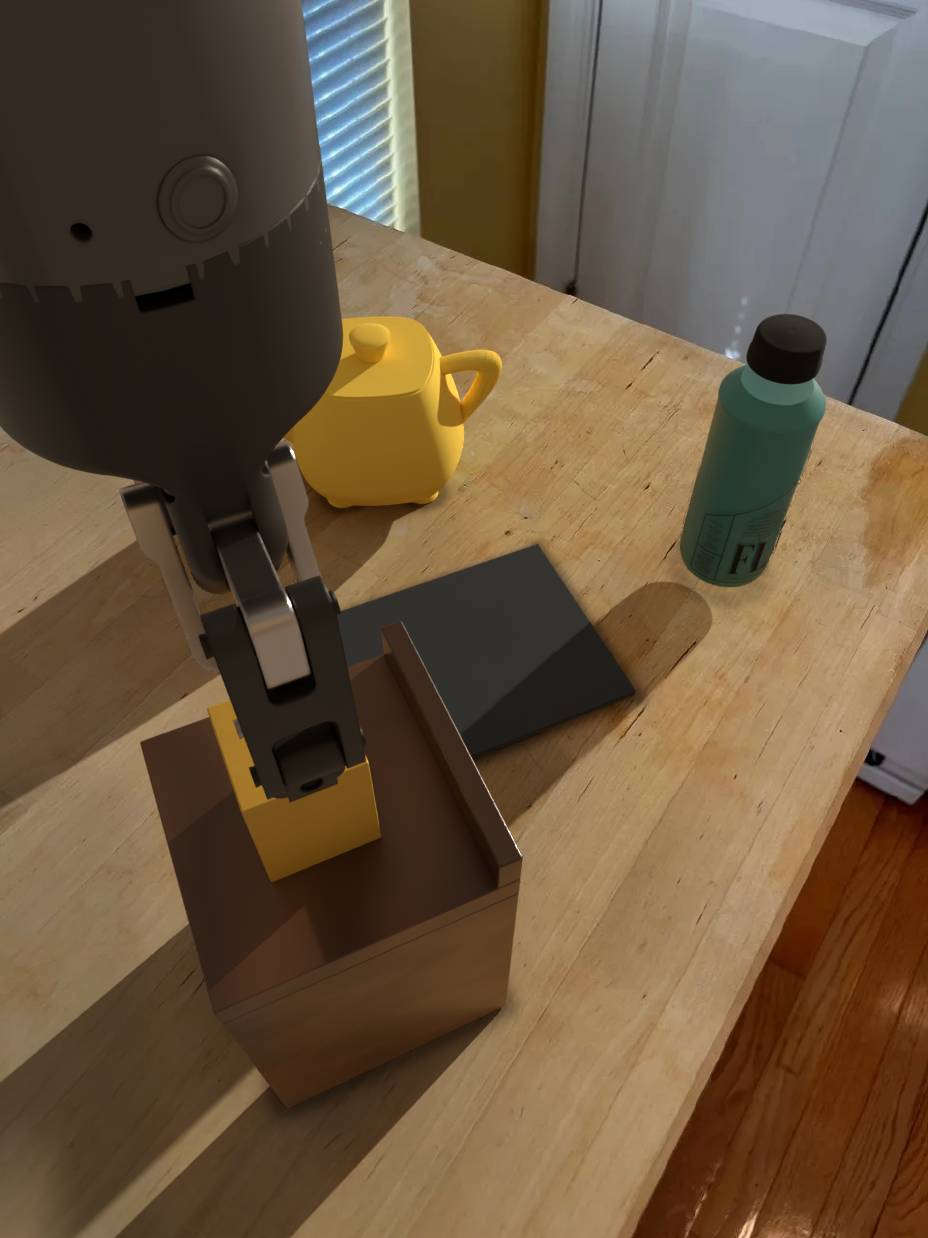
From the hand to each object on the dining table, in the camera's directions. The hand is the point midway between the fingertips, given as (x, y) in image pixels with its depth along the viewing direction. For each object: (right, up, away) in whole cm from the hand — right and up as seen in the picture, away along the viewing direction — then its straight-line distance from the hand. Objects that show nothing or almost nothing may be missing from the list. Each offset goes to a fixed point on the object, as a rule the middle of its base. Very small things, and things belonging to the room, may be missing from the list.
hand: (264, 668), depth 29 cm
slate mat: (+6, -1, +33) cm, 34 cm away
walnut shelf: (+1, -16, +22) cm, 27 cm away
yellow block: (0, -6, +8) cm, 10 cm away
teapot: (-1, +13, +45) cm, 47 cm away
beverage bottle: (+25, +5, +38) cm, 46 cm away
